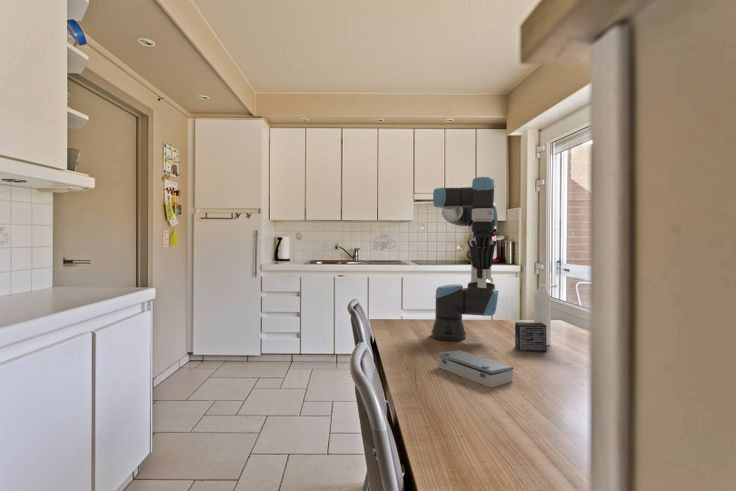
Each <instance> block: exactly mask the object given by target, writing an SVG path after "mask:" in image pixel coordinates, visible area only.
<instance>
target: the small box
mask: <svg viewBox="0 0 736 491" xmlns="http://www.w3.org/2000/svg"><path fill="white" fill-rule="evenodd" d="M514 324H515V325H514V330H515V331H514V332H515V334H514V338H515V339H514V342H515V343H514V344H515V345H514V348H515V349H516V350H517V351H518V352H525V353H526V352H534V353H536V352H537V353H547V346H546V325H544V324H543V323H534V322H524V321H523V322H521V321H517V322H514Z"/></svg>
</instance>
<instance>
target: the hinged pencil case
mask: <svg viewBox="0 0 736 491" xmlns="http://www.w3.org/2000/svg"><path fill="white" fill-rule="evenodd" d="M437 360H438V361H437V362H438V363H437V368H438V369H440V368H441V369H440V370H443V369H444V371H446V370H447V371H446V372H448V371H449V373H451V372H452V374H453V373H455V374H454V375H456V374H457V376H460V377H461V376H462V377H461V378H464V377H465V378H464V379H467V380H469V379H470V380H469V381H472V382H474V381H475V383H477V384H480V385H482V384H483V386H485V387H488V388H490V389H491V388H494V387H499V386H502V385H505V384H508V383H512V382H513V373H514V369H513V370H508V371H503V372H497V373H492V374H491V373H488V372H485V371H482V370H479V369H476V368H471V367H468V366H465V365H462V364H460V363H457V362H454V361H451V360H448V359H447V358H444V357H442V356H438V358H437Z"/></svg>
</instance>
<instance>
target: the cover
mask: <svg viewBox="0 0 736 491" xmlns="http://www.w3.org/2000/svg"><path fill="white" fill-rule="evenodd" d="M438 357H442V358H445V359H450V360H453V361H456V362H459V363H462V364H465V365H468V366H471V367H473V368H476V369H479V370H482V371H485V372H488V373H491V374H492V373H497V372H503V371H508V370H513V371H514V366H511V365H507V364H504V363H501V362H498V361H495V360H492V359H489V358H485V357H482V356H479V355H476V354H472V353H469V352H466V351H463V350H459V349H458V350H451V351H443V352H438Z"/></svg>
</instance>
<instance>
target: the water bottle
mask: <svg viewBox="0 0 736 491" xmlns="http://www.w3.org/2000/svg"><path fill="white" fill-rule="evenodd" d="M550 288H558V284H550ZM533 300H534V301H533V302H534V306H533V310H534V311H533V312H534V313H533V318H534V319H533V323H543V324H544V325H546V347H547V346H551V342H552V340H551V332H552V331H551V330H552V328H551V324H552V322H551V320H552V319H551V318H552V316H551V314H552V296H551V293H550V292H549V291H548V289H547V285H546V284H542V283H541V284H539V288H538V289H537V291H536V292H535V294H534V295H533Z"/></svg>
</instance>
